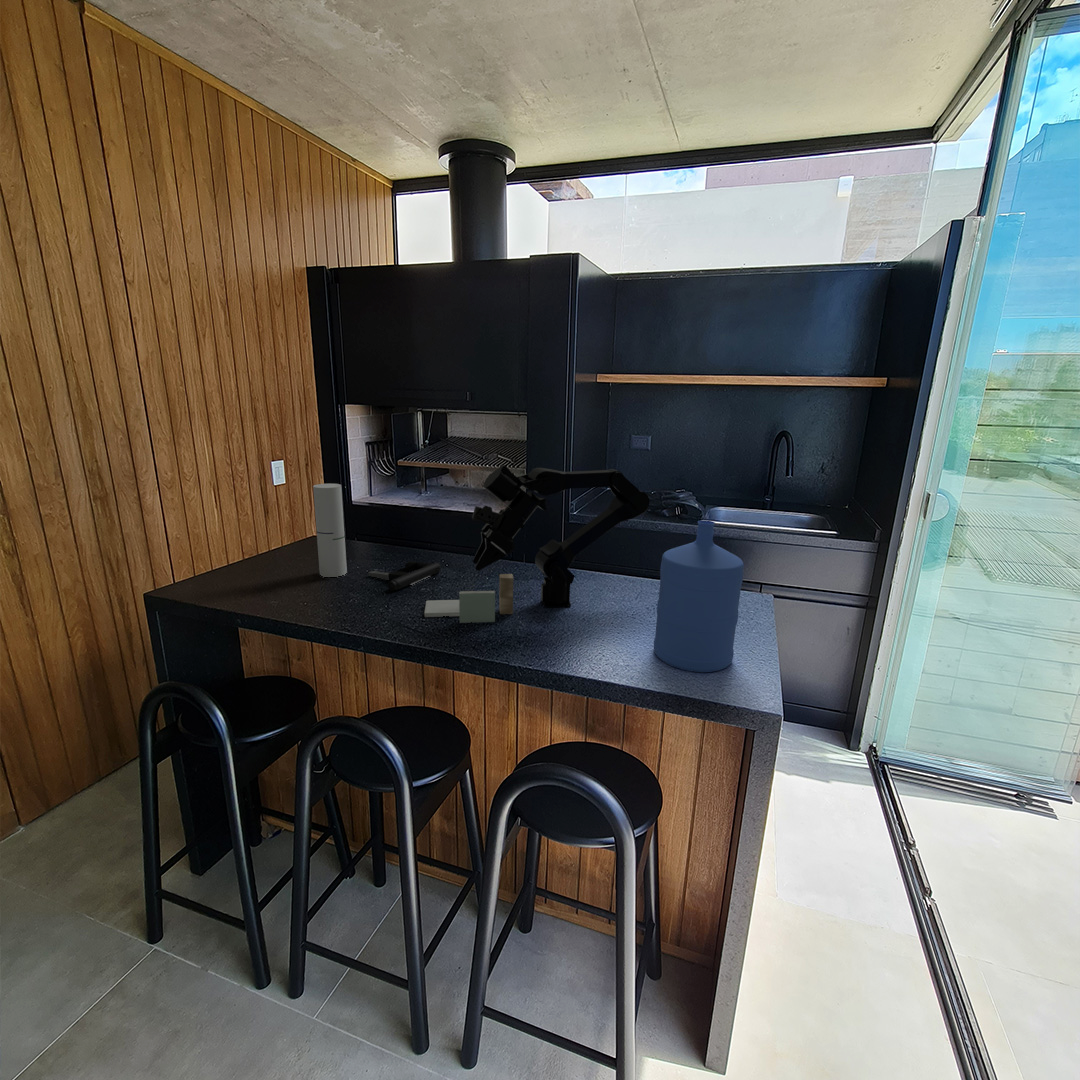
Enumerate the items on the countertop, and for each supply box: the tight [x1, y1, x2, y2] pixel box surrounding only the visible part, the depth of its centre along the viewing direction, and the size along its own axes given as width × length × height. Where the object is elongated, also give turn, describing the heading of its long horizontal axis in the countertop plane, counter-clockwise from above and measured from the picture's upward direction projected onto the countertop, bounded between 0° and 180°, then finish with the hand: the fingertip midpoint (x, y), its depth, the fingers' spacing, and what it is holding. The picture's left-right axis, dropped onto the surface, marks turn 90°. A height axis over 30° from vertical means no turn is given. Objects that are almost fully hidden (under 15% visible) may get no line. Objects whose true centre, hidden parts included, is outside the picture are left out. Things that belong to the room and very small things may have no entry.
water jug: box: [653, 519, 745, 673], centre depth 111 cm, size 16×16×28 cm
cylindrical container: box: [312, 483, 348, 578], centre depth 155 cm, size 7×7×25 cm
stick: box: [498, 573, 514, 615], centre depth 134 cm, size 3×3×9 cm
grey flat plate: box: [424, 599, 460, 618], centre depth 135 cm, size 10×8×1 cm
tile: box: [458, 590, 496, 624], centre depth 128 cm, size 8×2×7 cm, turn 98°
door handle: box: [368, 560, 442, 592], centre depth 157 cm, size 3×20×16 cm
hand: (475, 566), depth 132 cm, fingers open, 9 cm apart
